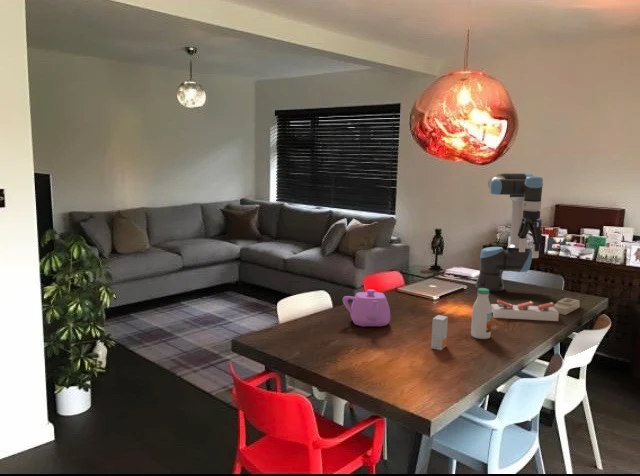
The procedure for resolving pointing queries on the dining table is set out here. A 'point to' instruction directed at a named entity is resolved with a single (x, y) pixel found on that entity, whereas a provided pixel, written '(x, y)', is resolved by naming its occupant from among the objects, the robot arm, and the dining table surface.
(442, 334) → the skincare box
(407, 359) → the dining table surface
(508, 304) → the rocker
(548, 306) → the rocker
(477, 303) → the milk bottle
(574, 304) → the electrical outlet
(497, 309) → the power strip
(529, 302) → the rocker
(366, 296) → the teapot
